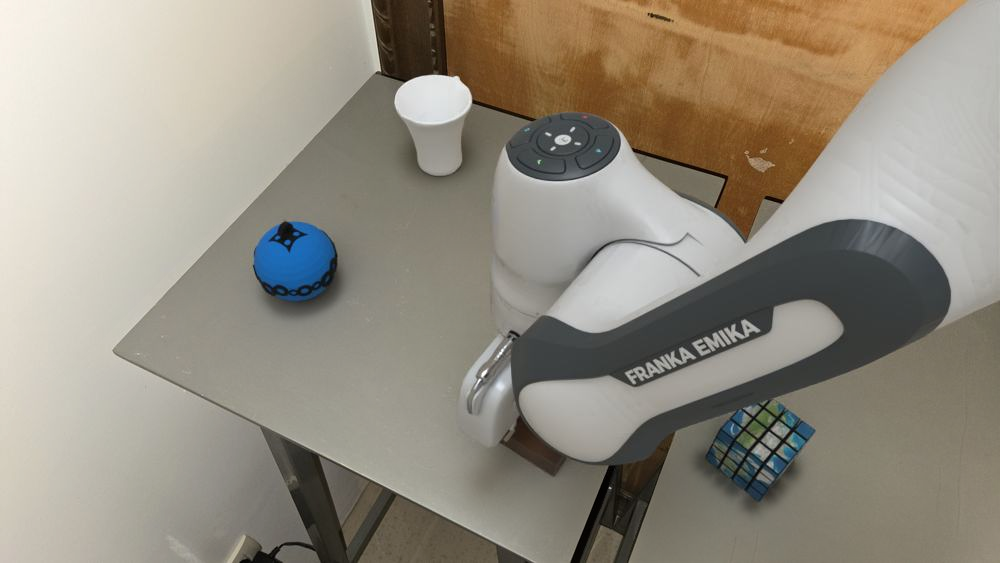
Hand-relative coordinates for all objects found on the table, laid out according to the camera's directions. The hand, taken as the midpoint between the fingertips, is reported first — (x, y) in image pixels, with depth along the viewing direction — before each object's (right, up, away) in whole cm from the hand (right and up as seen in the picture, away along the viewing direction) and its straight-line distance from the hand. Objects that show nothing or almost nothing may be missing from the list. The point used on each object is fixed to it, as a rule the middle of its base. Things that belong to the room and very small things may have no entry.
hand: (538, 382), depth 69 cm
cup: (-11, +24, +25) cm, 37 cm away
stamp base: (0, -3, +4) cm, 5 cm away
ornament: (-25, +9, +13) cm, 29 cm away
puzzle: (+20, -7, +1) cm, 21 cm away
